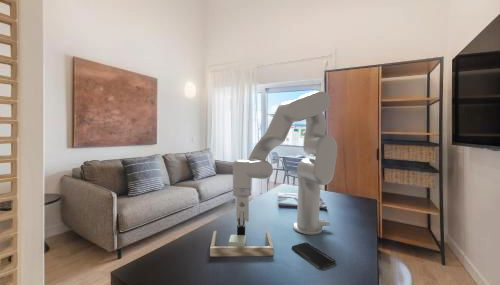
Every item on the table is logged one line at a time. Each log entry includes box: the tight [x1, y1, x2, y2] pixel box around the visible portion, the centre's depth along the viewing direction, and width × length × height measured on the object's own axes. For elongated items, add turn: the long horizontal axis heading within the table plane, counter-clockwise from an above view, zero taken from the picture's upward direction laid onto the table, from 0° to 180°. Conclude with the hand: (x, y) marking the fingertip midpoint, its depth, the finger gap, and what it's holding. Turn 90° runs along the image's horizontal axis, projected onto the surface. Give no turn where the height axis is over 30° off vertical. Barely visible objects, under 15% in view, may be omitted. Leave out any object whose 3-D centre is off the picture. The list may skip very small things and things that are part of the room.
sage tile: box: [228, 234, 247, 246], centre depth 90 cm, size 6×6×2 cm
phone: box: [291, 242, 337, 270], centre depth 83 cm, size 8×1×15 cm
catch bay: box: [209, 230, 274, 257], centre depth 88 cm, size 22×14×3 cm, turn 93°
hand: (240, 235), depth 94 cm, fingers closed
